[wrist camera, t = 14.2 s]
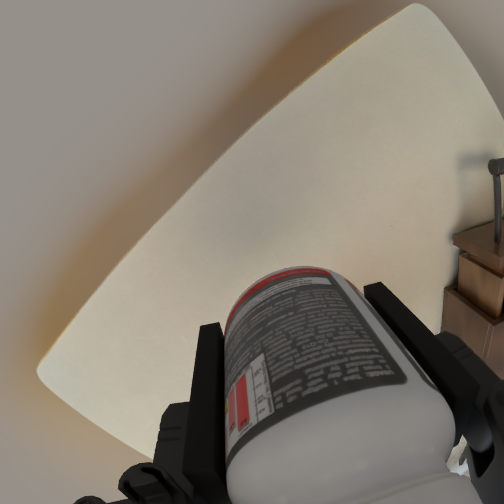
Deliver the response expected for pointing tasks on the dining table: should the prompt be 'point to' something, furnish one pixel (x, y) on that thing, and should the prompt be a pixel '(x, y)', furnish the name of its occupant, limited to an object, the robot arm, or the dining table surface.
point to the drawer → (484, 256)
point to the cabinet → (474, 329)
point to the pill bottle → (329, 402)
